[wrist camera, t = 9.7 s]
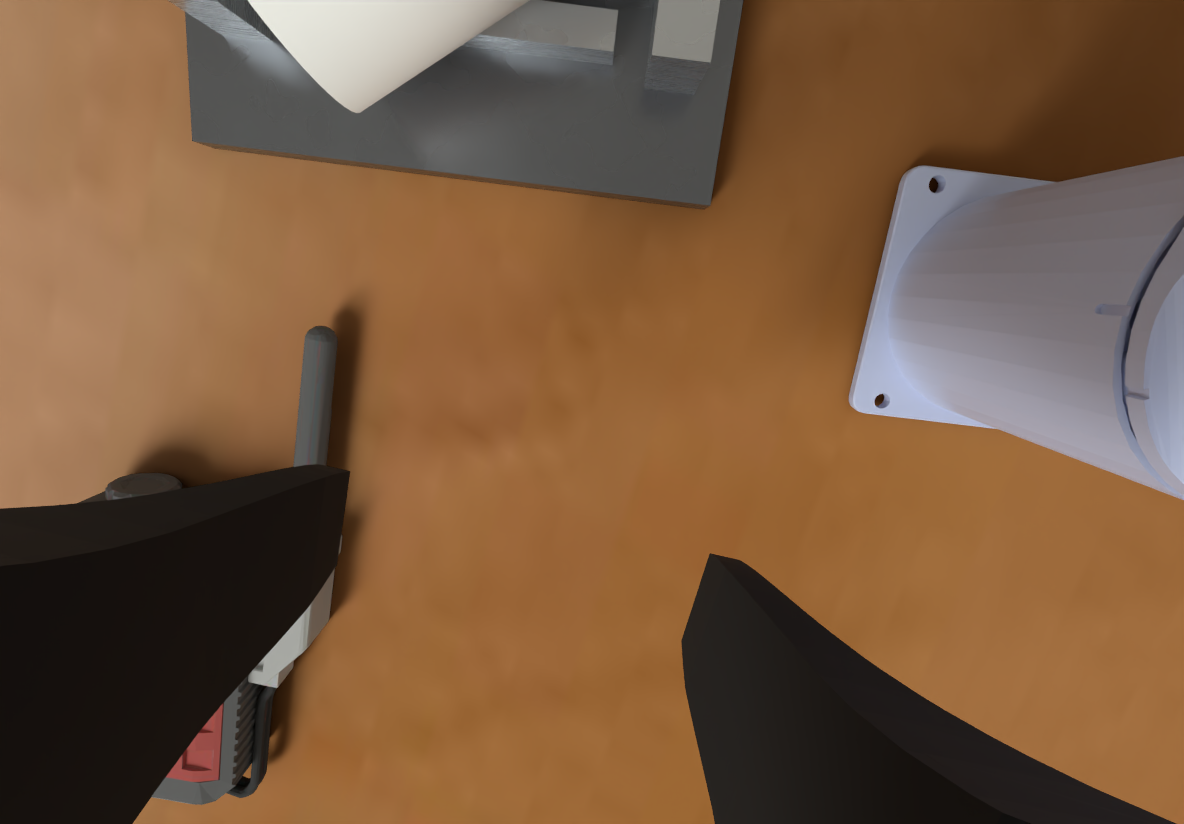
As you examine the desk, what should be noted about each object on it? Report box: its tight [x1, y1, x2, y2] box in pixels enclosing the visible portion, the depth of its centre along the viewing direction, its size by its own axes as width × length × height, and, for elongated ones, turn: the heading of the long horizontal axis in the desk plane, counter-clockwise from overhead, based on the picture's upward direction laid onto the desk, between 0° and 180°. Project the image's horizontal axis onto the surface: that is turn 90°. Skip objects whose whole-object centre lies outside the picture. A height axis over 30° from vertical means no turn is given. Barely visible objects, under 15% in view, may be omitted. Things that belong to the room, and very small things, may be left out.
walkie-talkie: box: [79, 326, 342, 805], centre depth 19 cm, size 9×4×20 cm
